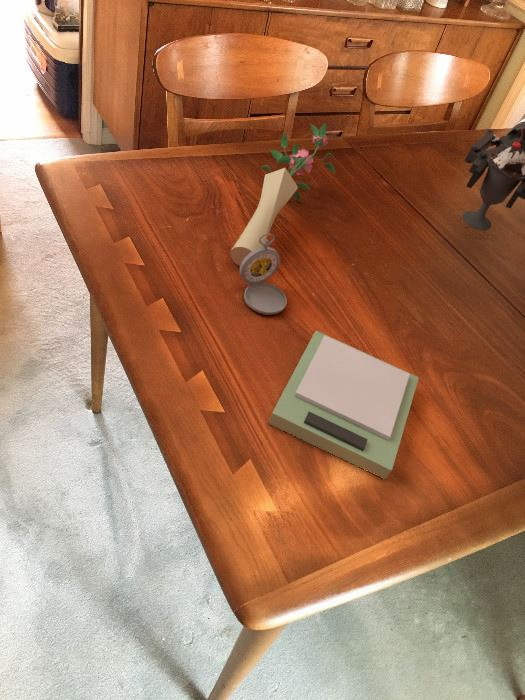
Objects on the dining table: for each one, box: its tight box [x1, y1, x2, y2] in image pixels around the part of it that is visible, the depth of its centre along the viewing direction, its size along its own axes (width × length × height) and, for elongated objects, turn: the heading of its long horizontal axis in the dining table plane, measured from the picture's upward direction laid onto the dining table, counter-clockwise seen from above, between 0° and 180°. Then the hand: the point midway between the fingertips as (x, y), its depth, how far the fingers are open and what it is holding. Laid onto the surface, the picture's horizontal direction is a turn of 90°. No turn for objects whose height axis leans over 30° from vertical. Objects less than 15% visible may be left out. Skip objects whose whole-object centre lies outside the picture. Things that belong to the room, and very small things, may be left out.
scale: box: [267, 330, 420, 480], centre depth 74 cm, size 16×17×3 cm
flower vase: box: [229, 122, 337, 267], centre depth 99 cm, size 12×12×35 cm
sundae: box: [461, 127, 525, 231], centre depth 84 cm, size 7×7×15 cm
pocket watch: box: [239, 233, 288, 316], centre depth 83 cm, size 8×8×10 cm
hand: (492, 189), depth 81 cm, fingers closed on sundae, 6 cm apart
